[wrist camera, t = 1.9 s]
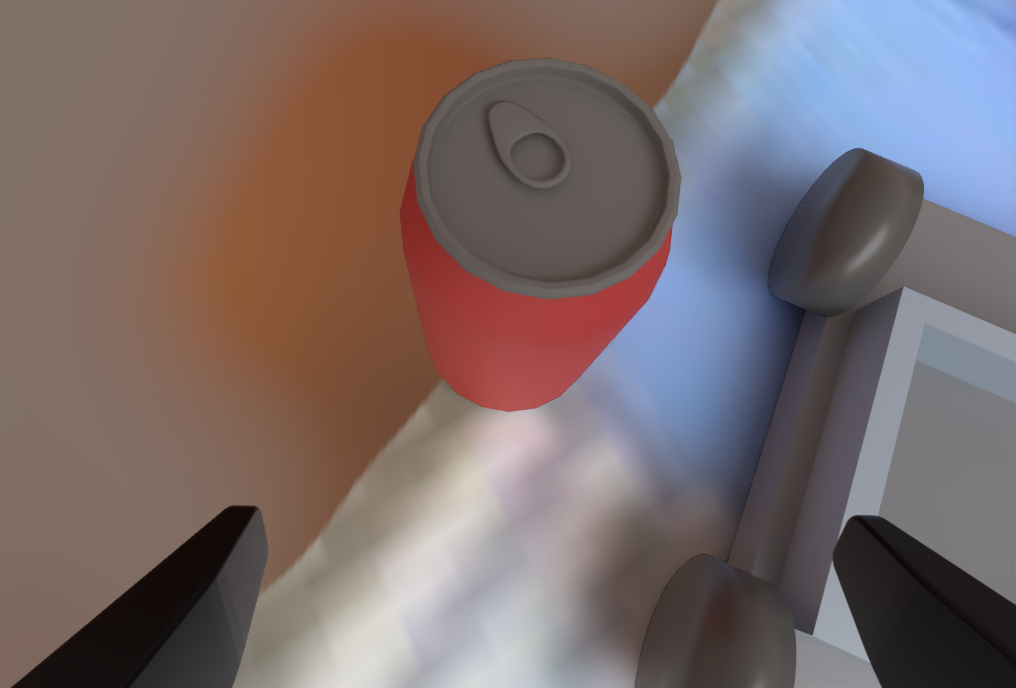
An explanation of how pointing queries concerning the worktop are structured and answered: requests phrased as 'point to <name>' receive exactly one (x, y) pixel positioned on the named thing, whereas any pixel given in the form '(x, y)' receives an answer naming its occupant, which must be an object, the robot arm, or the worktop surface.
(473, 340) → the beer can
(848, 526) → the robot arm
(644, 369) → the worktop surface
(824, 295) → the chassis
